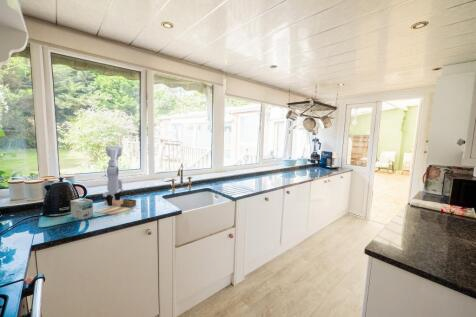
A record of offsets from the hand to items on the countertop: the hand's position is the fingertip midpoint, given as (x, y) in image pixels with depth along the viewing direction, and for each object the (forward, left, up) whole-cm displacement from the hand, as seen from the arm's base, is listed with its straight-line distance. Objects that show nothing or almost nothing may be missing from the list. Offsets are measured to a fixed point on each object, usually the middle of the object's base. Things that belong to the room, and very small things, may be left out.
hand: (113, 204), depth 136 cm
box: (+1, +12, -5) cm, 13 cm away
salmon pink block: (0, 0, 0) cm, 0 cm away
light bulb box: (-11, -13, -5) cm, 18 cm away
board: (0, +1, -5) cm, 5 cm away
